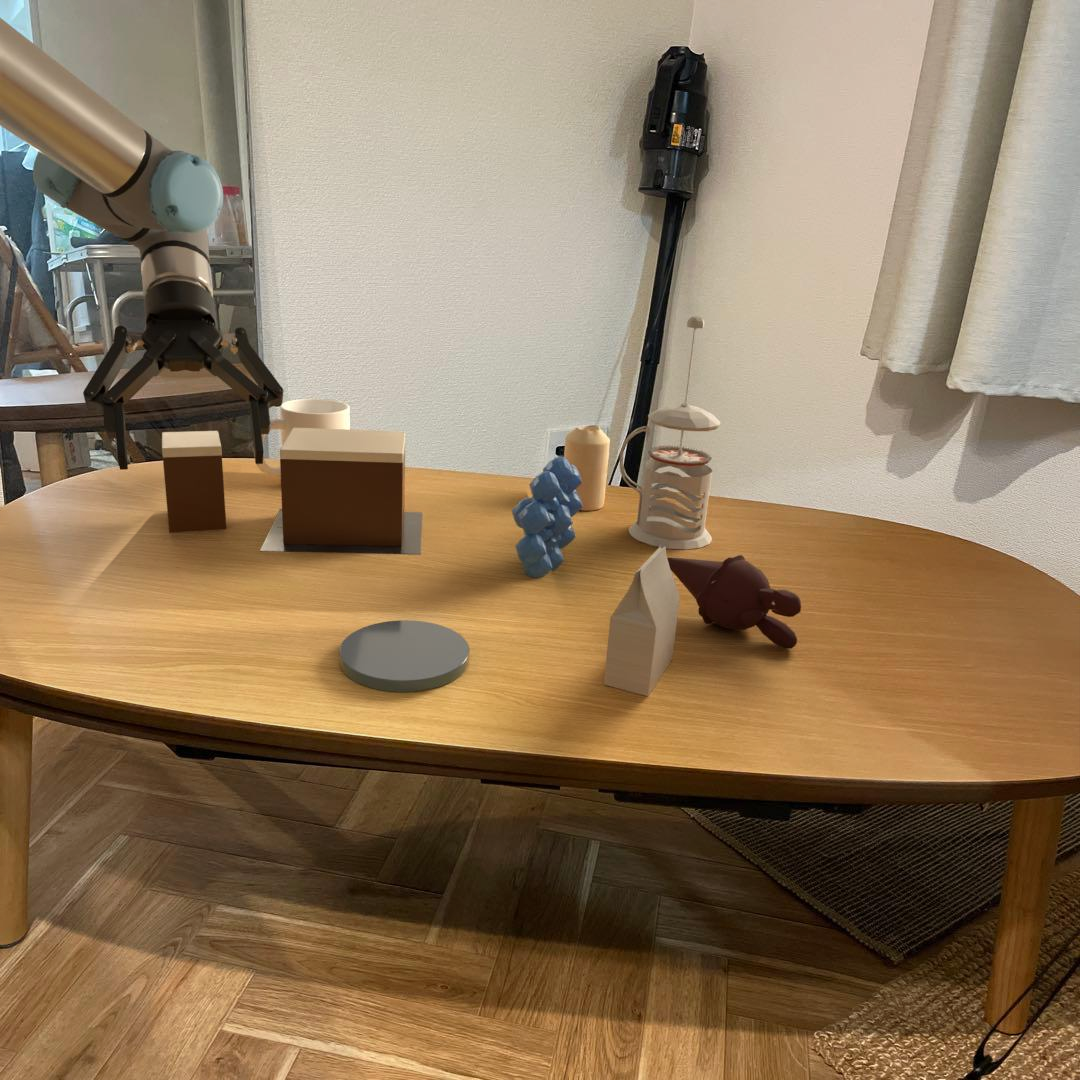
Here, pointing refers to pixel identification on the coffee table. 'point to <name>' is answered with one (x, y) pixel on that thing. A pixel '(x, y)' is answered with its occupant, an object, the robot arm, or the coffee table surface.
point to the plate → (404, 656)
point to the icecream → (738, 596)
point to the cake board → (409, 545)
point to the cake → (343, 487)
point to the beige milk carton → (643, 628)
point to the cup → (307, 421)
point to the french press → (675, 478)
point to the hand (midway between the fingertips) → (192, 461)
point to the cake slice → (194, 481)
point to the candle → (589, 463)
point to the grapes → (548, 517)
